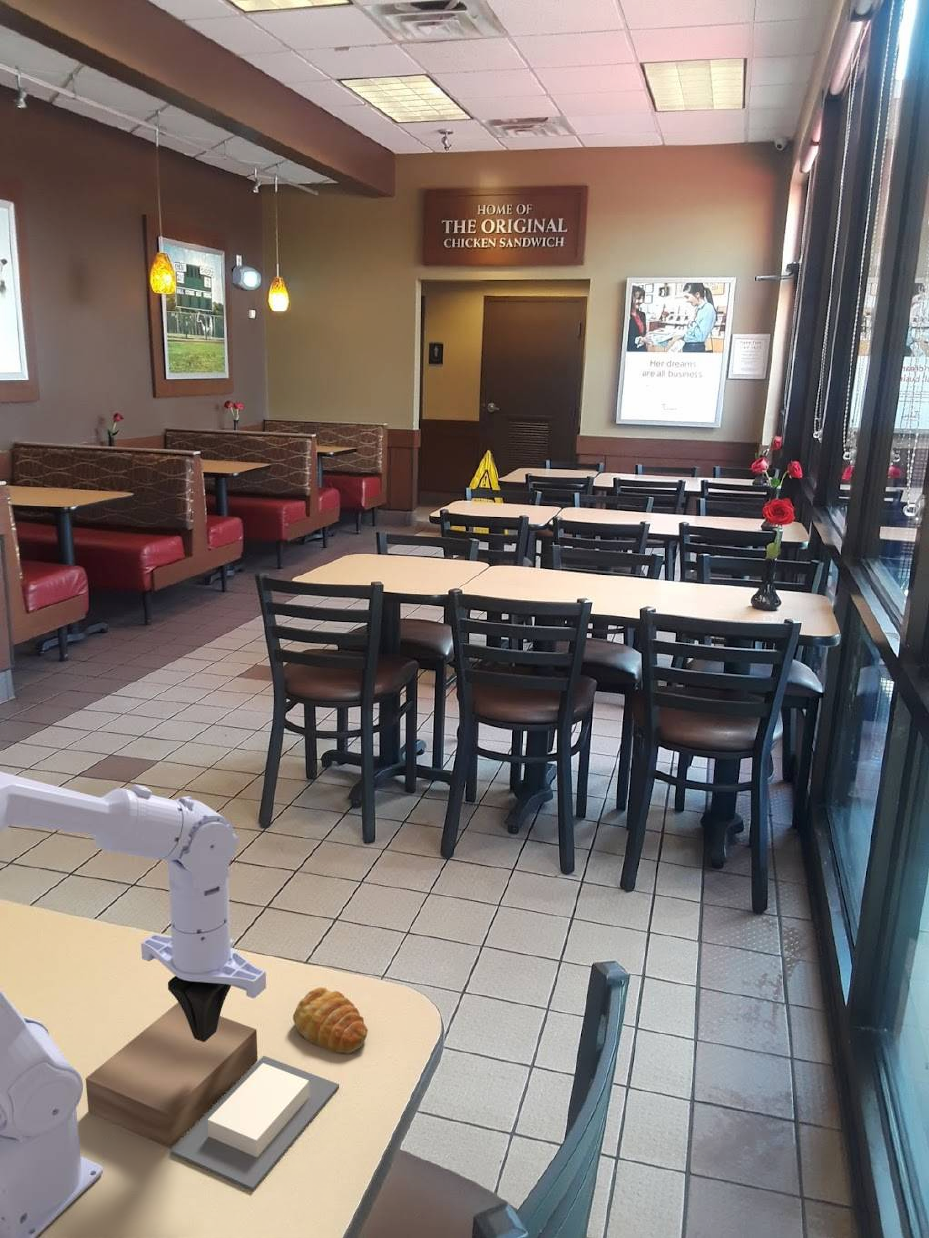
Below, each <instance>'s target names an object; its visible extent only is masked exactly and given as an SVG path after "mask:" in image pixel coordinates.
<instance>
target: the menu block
mask: <svg viewBox="0 0 929 1238" xmlns="http://www.w3.org/2000/svg"><path fill="white" fill-rule="evenodd" d="M309 1097H310V1096H309V1080H306V1079H303V1078H301V1077H298V1076H296V1075H293V1074H290V1073H288V1072H285V1071H283V1070H280V1069H277V1068H275V1067H272V1066H270V1065H267V1064H264V1063H262V1064H261V1065H260V1066H259V1067H258V1069H257V1070H256V1071H255V1072H254V1073H253V1074H252V1075H251V1076H250V1077H249V1078H248V1079H247V1080H246V1081H245V1082H244V1083H243V1084H242V1085H241V1086H240V1087H239V1088H238V1089H237V1090H236V1091H235V1092H234V1093H233V1094H232V1095H231V1096H230V1097H229V1098H228V1099H227V1100H226V1101H225V1102H224V1103H223V1104H222V1105H221V1106H220V1107H219V1108H218V1110H217V1111H216V1112H215V1113H214V1114H213V1115H212V1116H211V1117H210V1118H209V1119H208V1135H209V1137H211V1138H214V1139H216V1140H218V1141H221V1142H223V1143H225V1144H227V1145H230V1146H232V1147H234V1148H237V1149H239V1150H241V1151H243V1152H246V1153H248V1154H250V1155H253V1156H255V1157H258V1156H259V1155H260V1154H261V1153H262V1151H263V1150H264V1149H265V1148H266V1147H267V1146H268V1144H269V1143H270V1142H271V1141H272V1140H273V1139H274V1137H275V1136H276V1135H277V1134H278V1133H279V1132H280V1130H281V1129H282V1128H283V1127H284V1126H285V1125H286V1123H287V1122H288V1121H289V1120H290V1119H291V1118H292V1116H293V1115H294V1114H295V1113H296V1112H297V1111H298V1110H299V1108H300V1107H301V1106H302V1105H303V1104H304V1103H305V1101H306V1100H307V1099H308V1098H309Z"/></svg>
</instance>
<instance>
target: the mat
mask: <svg viewBox="0 0 929 1238" xmlns="http://www.w3.org/2000/svg"><path fill="white" fill-rule="evenodd" d="M262 1063H264V1064H267V1065H270V1066H272V1067H275V1068H277V1069H280V1070H283V1071H285V1072H288V1073H290V1074H293V1075H296V1076H298V1077H301V1078H303V1079H306V1080H309V1096H310V1097H309V1098H308V1099H307V1100H306V1101H305V1103H304V1104H303V1105H302V1106H301V1107H300V1108H299V1110H298V1111H297V1112H296V1113H295V1114H294V1115H293V1116H292V1118H291V1119H290V1120H289V1121H288V1122H287V1123H286V1125H285V1126H284V1127H283V1128H282V1129H281V1130H280V1132H279V1133H278V1134H277V1135H276V1136H275V1137H274V1139H273V1140H272V1141H271V1142H270V1143H269V1144H268V1146H267V1147H266V1148H265V1149H264V1150H263V1151H262V1153H261V1154H260V1155H259V1156H258V1157H255V1156H253V1155H250V1154H248V1153H246V1152H243V1151H241V1150H239V1149H237V1148H234V1147H232V1146H230V1145H227V1144H225V1143H223V1142H221V1141H218V1140H216V1139H214V1138H211V1137H209V1135H208V1119H209V1118H210V1117H211V1116H212V1115H213V1114H214V1113H215V1112H216V1111H217V1110H218V1108H219V1107H220V1106H221V1105H222V1104H223V1103H224V1102H225V1101H226V1100H227V1099H228V1098H229V1097H230V1096H231V1095H232V1094H233V1093H234V1092H235V1091H236V1090H237V1089H238V1088H239V1087H240V1086H241V1085H242V1084H243V1083H244V1082H245V1081H246V1080H247V1079H248V1078H249V1077H250V1076H251V1075H252V1074H253V1073H254V1072H255V1071H256V1070H257V1069H258V1067H259V1066H260V1065H261V1064H262ZM339 1088H340V1084H339V1083H337V1082H334V1081H331V1080H329V1079H326V1078H323V1077H320V1076H318V1075H315V1074H312V1073H310V1072H307V1071H305V1070H302V1069H301V1068H297V1067H295V1066H292V1065H289V1064H288V1063H287V1064H286V1063H284V1062H281V1061H280V1060H279V1061H278V1060H276V1059H273V1058H271V1057H268V1056H265V1055H263V1056H262V1057H261V1058H260V1059H259V1060H257V1061H256V1062H255V1063H254V1064H253V1065H252V1066H251V1067H250V1068H249V1069H248V1070H247V1071H246V1072H245V1073H244V1074H243V1075H242V1076H241V1077H240V1078H239V1079H238V1080H237V1081H236V1082H235V1083H234V1084H233V1085H232V1086H231V1087H230V1088H229V1089H228V1091H227V1092H226V1093H225V1094H224V1096H222V1097H221V1098H220V1099H219V1100H218V1101H217V1102H216V1103H215V1104H214V1105H213V1106H212V1107H211V1108H210V1109H209V1110H208V1111H207V1112H206V1113H205V1114H204V1115H203V1116H202V1117H201V1118H200V1119H199V1120H198V1121H197V1122H196V1123H195V1124H194V1125H193V1126H192V1127H191V1128H190V1129H189V1130H188V1131H187V1132H186V1133H185V1134H184V1135H183V1136H182V1137H181V1138H180V1139H179V1140H178V1141H177V1142H176V1143H175V1144H174V1145H173V1146H172V1147H171V1148H172V1149H171V1148H170V1154H171V1155H173V1156H174V1157H177V1158H179V1159H182V1160H184V1161H186V1162H187V1163H191V1164H193V1165H194V1166H197V1167H199V1168H202V1169H203V1170H206V1171H208V1172H209V1173H212V1174H214V1175H217V1176H219V1177H221V1178H224V1179H226V1180H228V1181H230V1182H233V1183H234V1184H236V1185H238V1186H241V1187H243V1188H245V1189H247V1190H250V1191H252V1192H254V1191H255V1189H256V1188H257V1187H258V1186H260V1183H262V1181H263V1180H264V1179H266V1177H267V1176H268V1174H269V1173H270V1171H271V1170H272V1169H273V1168H274V1167H275V1165H276V1164H277V1163H278V1162H279V1161H280V1159H281V1158H282V1157H283V1156H284V1155H285V1153H286V1152H288V1150H289V1148H291V1146H292V1145H293V1144H294V1143H295V1142H296V1140H297V1139H298V1138H299V1137H300V1135H301V1134H302V1133H303V1132H304V1131H305V1129H306V1128H307V1127H308V1126H309V1125H310V1123H311V1122H312V1121H313V1120H314V1118H315V1117H316V1116H317V1115H318V1113H319V1112H320V1111H321V1110H322V1109H323V1108H324V1107H325V1105H326V1104H327V1103H328V1102H329V1101H330V1099H332V1097H333V1096H334V1095H335V1093H336V1092H337V1091H338V1090H339Z"/></svg>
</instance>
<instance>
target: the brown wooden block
mask: <svg viewBox="0 0 929 1238" xmlns="http://www.w3.org/2000/svg"><path fill="white" fill-rule="evenodd" d="M257 1030H258V1029H256V1028H254V1027H251V1026H248V1025H246V1024H243V1023H240V1022H238V1021H235V1020H232V1019H230V1018H227V1017H223V1016H221V1015H220V1017H219V1021H218V1026H217V1031H216V1032H215V1033H214V1034H213V1035H212V1036H211V1037H210V1038H209V1039H208V1040H207V1041H205V1042H202V1041H199V1040H197V1039H194V1037H193V1034H192V1031H191V1028H190V1026H189V1023H188V1020H187V1018H186V1015H185V1013H184V1011H183V1009H182V1007H181V1005H180V1004H179V1002H178V1001H177V1002H176V1003H175V1004H174V1005H173V1006H172V1007H171V1008H169V1009H168V1010H167V1011H166V1012H165V1013H163V1014H162V1015H161V1016H160V1017H159V1018H157V1019H156V1020H155V1021H154V1022H152V1023H151V1024H150V1025H149V1026H148V1027H146V1028H145V1029H144V1030H143V1031H142V1032H140V1033H139V1034H138V1035H136V1036H135V1037H134V1038H133V1039H131V1040H130V1041H129V1042H128V1043H126V1045H124V1046H123V1047H122V1048H121V1049H120V1050H118V1051H117V1052H116V1053H115V1054H113V1055H112V1056H110V1058H108V1059H107V1060H106V1061H105V1062H104V1063H102V1065H100V1066H98V1067H97V1068H96V1069H95V1070H94V1071H93V1072H92V1073H90V1074H89V1075H88V1076H86V1078H85V1088H86V1097H87V1098H86V1099H87V1110H88V1112H90V1113H92V1114H94V1115H96V1116H99V1117H100V1118H103V1119H105V1120H106V1121H110V1122H112V1123H114V1124H115V1125H118V1126H120V1127H122V1128H125V1129H127V1130H129V1131H131V1132H134V1133H136V1134H138V1135H140V1136H143V1137H145V1138H147V1139H149V1140H150V1141H153V1142H156V1143H158V1144H160V1145H162V1146H164V1147H167V1148H169V1149H171V1148H173V1147H174V1146H175V1145H176V1144H177V1143H178V1142H179V1141H180V1140H181V1139H182V1138H183V1137H184V1136H185V1135H186V1134H187V1133H188V1132H189V1131H190V1130H191V1129H192V1128H193V1127H194V1126H195V1125H196V1124H197V1123H198V1122H199V1121H200V1120H201V1119H202V1118H203V1117H204V1116H205V1115H206V1114H207V1113H208V1112H209V1111H210V1110H211V1109H212V1108H213V1107H214V1106H215V1105H216V1104H217V1103H218V1102H219V1101H220V1100H221V1099H222V1098H223V1097H224V1096H225V1095H226V1094H227V1093H228V1091H229V1090H230V1089H231V1088H232V1087H233V1086H234V1085H235V1084H236V1083H237V1082H238V1081H239V1080H240V1079H241V1078H242V1077H243V1076H244V1075H245V1074H246V1073H247V1072H248V1071H249V1070H250V1069H251V1068H252V1067H253V1066H254V1065H255V1064H256V1063H257V1062H258V1061H259V1060H258V1037H257V1034H258V1033H257ZM223 1095H224V1096H223Z"/></svg>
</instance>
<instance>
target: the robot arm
mask: <svg viewBox="0 0 929 1238" xmlns="http://www.w3.org/2000/svg"><path fill="white" fill-rule="evenodd" d="M152 793H153V791H152V790H151V789H149V788H148V787H146V786H144V785H139V784H134V785H133V786H132V788H131V789H128V788H127V789H126V788H122V787H120V788H115V789H113V790H111V791H109V792H108V793H106V794H104V795H103V796H101V797H98V796H94V795H90V794H87V793H83V792H79V791H76V790H72V789H68V788H63V787H61V786H57V785H52V784H49V783H45V782H41V781H37V780H34V779H30V778H26V777H21V776H18V775H15V774H12V773H11V774H10V773H7V772H3V771H0V834H2V833H3V832H4V831H5V830H7V828H9V827H10V826H14V825H16V826H23V827H31V828H39V829H46V830H54V831H62V832H63V831H64V832H70V833H71V832H72V833H77V834H87V835H91V836H92V838H93V840H94V842H95V844H96V846H97V847H98V848H99V849H100V850H102V851H105V852H110V853H116V854H122V855H126V856H133V857H139V858H141V857H142V858H145V859H146V858H147V859H151V860H159V861H167V870H168V895H169V911H170V912H169V913H170V930H171V931H170V933H171V936H165V935H160V934H156V933H153V934H152V935H150V936H149V937H148V938H146V939H145V940H143V941H142V942H141V943H140V947H141V949H140V951H141V960H144V961H146V962H151V961H152V960H153V959H154V960H157V961H159V962H160V963H161V964H162V965H163V966H164V968H166V969H167V970H168V971H170V972H171V973H172V974H173V975H174V976H173V977H172V978H171V979H170V980H169V981H168V983H167V990H168V991H169V992H170V993H171V995H172V996H173V997H174V998H175V1000H177V1003H178V1002H179V1004H180V1005H181V1007H182V1009H183V1011H184V1013H185V1015H186V1018H187V1020H188V1023H189V1026H190V1028H191V1031H192V1034H193V1037H194V1039H197V1040H199V1041H202V1042H205V1041H207V1040H208V1039H209V1038H210V1037H211V1036H212V1035H213V1034H214V1033H215V1032H216V1031H217V1026H218V1021H219V1017H220V1016H221V1012H222V1009H223V1006H224V1002H225V1000H226V999H227V997H228V996H227V995H228V993H229V991H230V989H231V988H232V987H235V988H237V989H240V990H243V991H245V993H246V994H245V995H246V997H249V998H251V999H256V997H258V996H259V995H260V994H261V993H262V992H263V991H264V990H266V988H267V978H266V977H267V974H266V973H267V972H266V970H263V969H261V968H258V967H257V966H255V965H253V964H252V963H251V962H250V961H248V960H247V959H246V958H244V957H243V956H242V955H241V954H239V952H237V951H236V950H235V949H233V947H234V939H232V938H231V927H230V926H231V925H230V923H231V922H230V919H231V918H230V894H229V876H230V874H229V873H230V872H229V867H230V863H231V861H232V859H233V858H234V856H235V854H236V852H237V849H238V847H239V841H240V836H237V835H236V834H235V831H234V827H233V825H232V823H230V822H229V820H228V819H227V818H225V817H224V816H223V815H221V814H219V812H217V811H215V810H214V809H212V808H211V807H209V806H208V805H206V804H205V803H203V802H201V801H200V800H197V799H194V798H193V797H192V796H190V795H189V796H180V797H178V798H177V799H171V798H166V797H163V796H157V795H153V794H152ZM83 1090H84V1084H83V1079H82V1076H81V1075H80V1072H79V1071H77V1069H76V1068H74V1066H72V1065H71V1064H70V1063H69V1061H68V1059H67V1058H66V1057H65V1056H64V1054H63V1052H62V1051H61V1050H60V1049H59V1047H58V1045H57V1044H56V1043H55V1041H54V1040H53V1039H52V1037H51V1035H50V1034H49V1030H48V1029H47V1027H46V1026H45V1024H44V1023H43V1022H42V1021H40V1020H38V1019H36V1018H32V1017H28V1016H25V1015H24V1014H22V1013H21V1012H20V1011H19V1010H18V1009H17V1007H16V1006H15V1005H14V1004H13V1003H12V1002H11V1001H10V999H9V998H8V996H7V995H6V994H5V993H4V991H3V990H2V988H0V1238H36V1237H38V1236H39V1234H40V1233H41V1232H43V1231H44V1230H45V1229H46V1228H47V1227H48V1226H49V1225H50V1224H52V1222H53V1221H54V1220H55V1219H56V1218H57V1217H58V1216H60V1214H62V1212H64V1211H65V1210H66V1209H67V1207H69V1206H70V1205H71V1204H72V1203H73V1202H74V1201H75V1200H76V1199H78V1197H79V1196H81V1194H82V1193H83V1192H85V1191H86V1190H87V1189H88V1188H89V1187H90V1186H91V1185H92V1183H94V1182H95V1181H96V1180H97V1179H98V1178H99V1177H100V1176H101V1175H102V1174H103V1173H104V1167H103V1166H102V1165H100V1164H98V1163H97V1162H94V1161H92V1160H90V1159H89V1158H86V1157H84V1156H82V1155H81V1147H80V1134H79V1124H78V1123H79V1121H78V1114H77V1112H78V1111H77V1107H78V1105H79V1103H80V1101H81V1098H82V1096H83V1092H84V1091H83Z"/></svg>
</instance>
